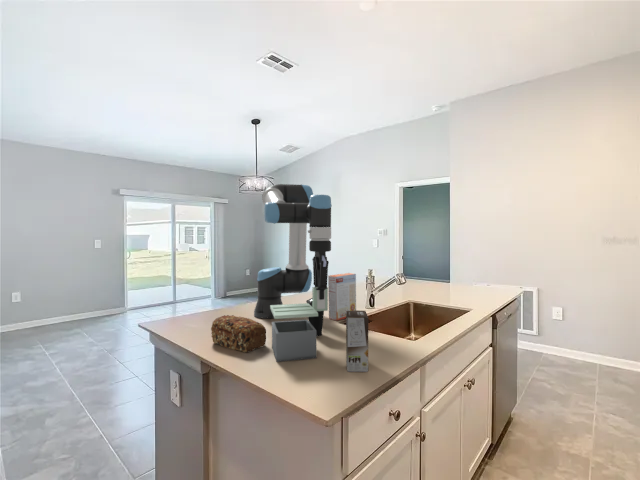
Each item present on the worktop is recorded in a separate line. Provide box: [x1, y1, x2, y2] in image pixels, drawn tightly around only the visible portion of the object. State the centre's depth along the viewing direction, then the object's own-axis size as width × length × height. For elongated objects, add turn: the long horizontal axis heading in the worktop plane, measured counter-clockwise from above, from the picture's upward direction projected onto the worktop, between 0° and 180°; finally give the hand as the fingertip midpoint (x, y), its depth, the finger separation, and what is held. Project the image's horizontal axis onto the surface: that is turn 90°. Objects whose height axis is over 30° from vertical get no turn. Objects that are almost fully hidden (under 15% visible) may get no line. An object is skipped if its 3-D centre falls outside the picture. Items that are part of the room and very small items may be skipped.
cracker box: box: [327, 272, 357, 321], centre depth 158 cm, size 14×6×21 cm, turn 133°
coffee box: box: [345, 309, 369, 373], centre depth 100 cm, size 9×6×16 cm
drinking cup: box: [306, 297, 325, 338], centre depth 131 cm, size 8×8×20 cm
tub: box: [271, 319, 317, 363], centre depth 111 cm, size 14×13×9 cm
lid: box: [270, 286, 329, 320], centre depth 112 cm, size 15×19×8 cm
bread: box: [210, 314, 267, 354], centre depth 119 cm, size 19×11×10 cm, turn 55°
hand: (320, 307), depth 114 cm, fingers closed on lid, 2 cm apart
